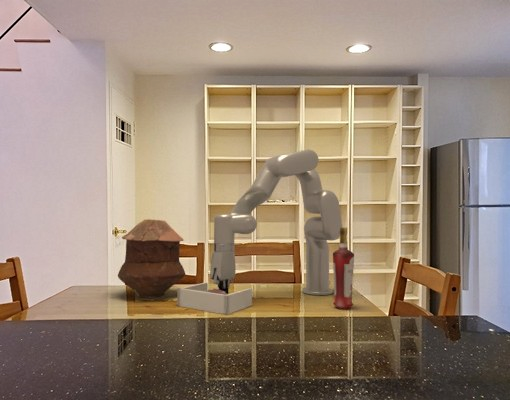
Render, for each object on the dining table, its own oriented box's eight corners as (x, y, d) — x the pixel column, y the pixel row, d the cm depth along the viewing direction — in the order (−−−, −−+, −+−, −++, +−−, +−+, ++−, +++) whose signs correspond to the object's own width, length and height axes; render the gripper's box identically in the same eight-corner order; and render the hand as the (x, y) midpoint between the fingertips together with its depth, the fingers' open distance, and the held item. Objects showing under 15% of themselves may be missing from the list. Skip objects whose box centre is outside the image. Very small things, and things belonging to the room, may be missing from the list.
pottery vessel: (102, 298, 148) (104, 219, 149) (145, 286, 172) (146, 218, 173) (159, 304, 138) (160, 220, 139) (196, 291, 162) (197, 219, 163)
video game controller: (226, 312, 135) (232, 292, 138) (220, 308, 132) (225, 288, 135) (204, 308, 140) (209, 289, 143) (197, 304, 137) (203, 285, 140)
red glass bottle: (337, 304, 141) (337, 227, 142) (357, 307, 137) (357, 227, 138) (329, 308, 135) (329, 227, 137) (349, 311, 131) (349, 228, 132)
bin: (204, 298, 150) (205, 282, 150) (251, 305, 138) (252, 288, 139) (177, 305, 137) (177, 288, 137) (226, 314, 126) (227, 295, 126)
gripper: (227, 246, 151) (227, 294, 150) (203, 249, 138) (202, 301, 138) (243, 247, 147) (243, 296, 146) (220, 250, 134) (219, 303, 134)
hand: (223, 298), depth 142 cm, fingers closed
